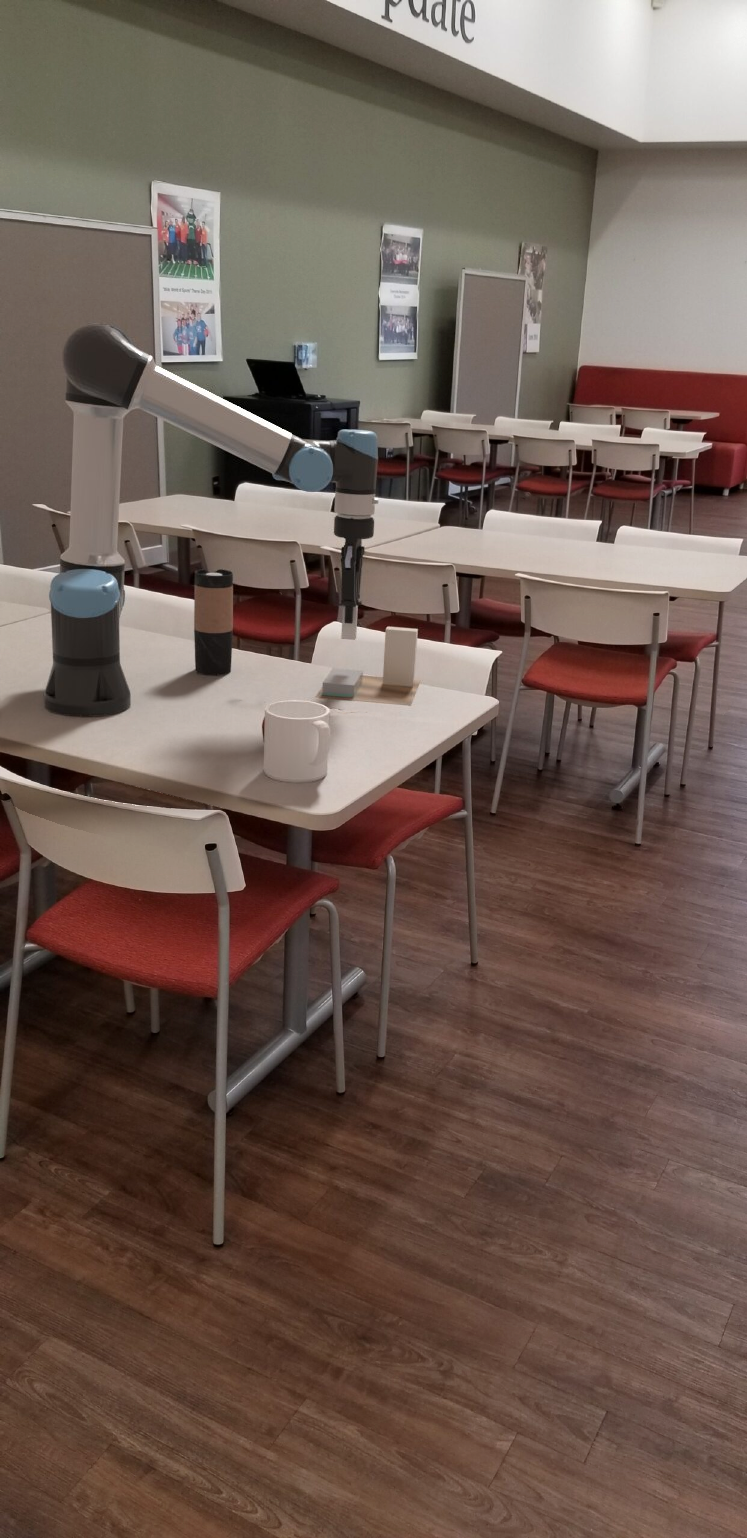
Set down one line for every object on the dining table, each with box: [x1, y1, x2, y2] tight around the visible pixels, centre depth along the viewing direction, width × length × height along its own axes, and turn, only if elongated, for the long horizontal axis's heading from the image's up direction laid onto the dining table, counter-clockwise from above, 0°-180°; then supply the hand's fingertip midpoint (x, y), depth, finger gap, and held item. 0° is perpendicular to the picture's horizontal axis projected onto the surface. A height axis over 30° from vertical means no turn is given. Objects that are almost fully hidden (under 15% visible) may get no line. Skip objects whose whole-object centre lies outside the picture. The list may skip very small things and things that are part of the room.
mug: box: [263, 699, 331, 784], centre depth 185 cm, size 13×10×10 cm
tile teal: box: [321, 667, 364, 698], centre depth 229 cm, size 2×6×11 cm
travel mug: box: [193, 568, 234, 676], centre depth 238 cm, size 8×8×20 cm
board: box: [315, 674, 421, 707], centre depth 231 cm, size 18×18×1 cm
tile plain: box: [382, 626, 419, 687], centre depth 233 cm, size 2×6×11 cm, turn 82°
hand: (348, 638), depth 232 cm, fingers closed
